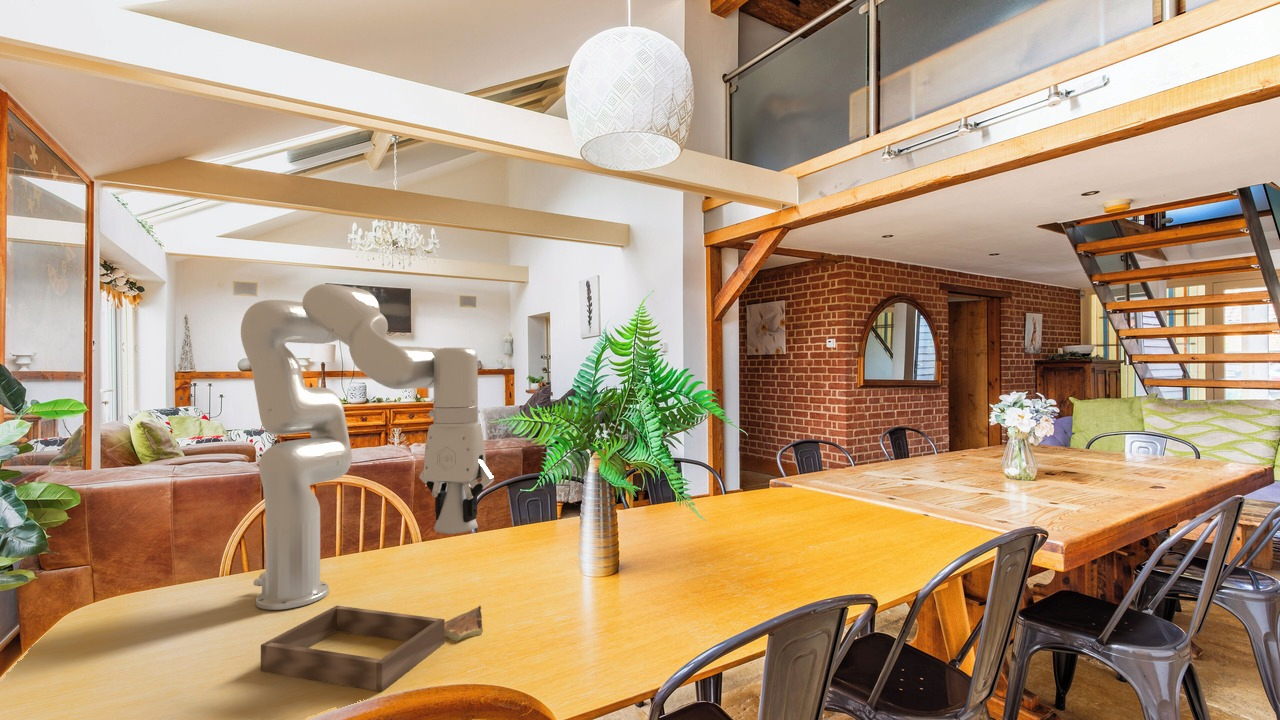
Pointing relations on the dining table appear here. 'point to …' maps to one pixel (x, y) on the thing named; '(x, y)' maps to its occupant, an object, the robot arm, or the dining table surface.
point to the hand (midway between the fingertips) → (456, 518)
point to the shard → (464, 625)
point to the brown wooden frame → (351, 670)
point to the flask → (453, 512)
